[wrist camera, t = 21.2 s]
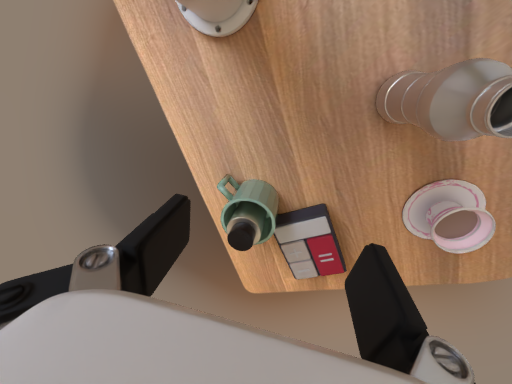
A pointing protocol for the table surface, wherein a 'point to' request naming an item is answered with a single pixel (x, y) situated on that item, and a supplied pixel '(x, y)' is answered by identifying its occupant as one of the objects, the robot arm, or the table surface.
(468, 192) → the teacup
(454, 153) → the table surface
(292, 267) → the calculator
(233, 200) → the mug
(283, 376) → the robot arm
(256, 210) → the flask
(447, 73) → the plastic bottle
